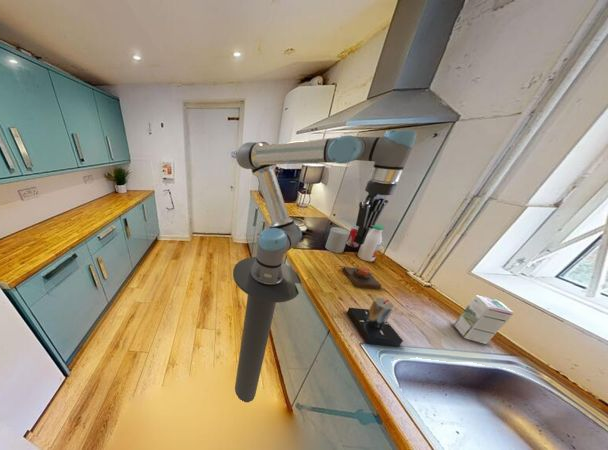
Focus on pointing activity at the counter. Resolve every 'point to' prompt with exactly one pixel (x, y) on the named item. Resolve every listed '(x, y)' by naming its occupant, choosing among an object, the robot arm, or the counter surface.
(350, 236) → the soda can
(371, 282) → the dark square plate
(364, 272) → the dispense button
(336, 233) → the grey cylinder
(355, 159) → the robot arm
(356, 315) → the control panel
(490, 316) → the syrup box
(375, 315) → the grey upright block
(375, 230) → the milk bottle
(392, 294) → the counter surface
